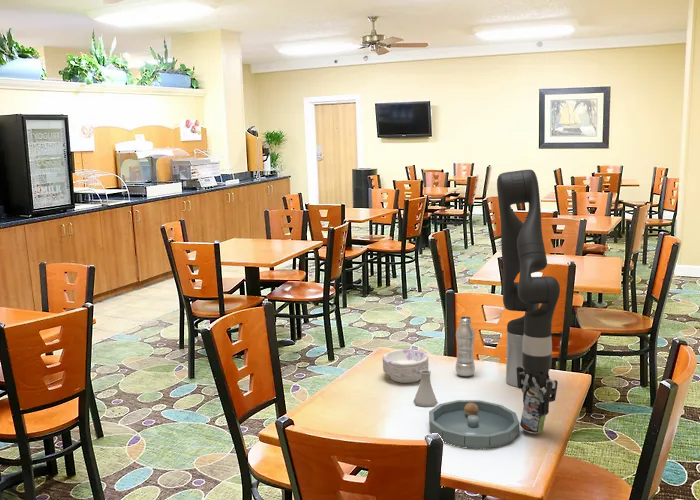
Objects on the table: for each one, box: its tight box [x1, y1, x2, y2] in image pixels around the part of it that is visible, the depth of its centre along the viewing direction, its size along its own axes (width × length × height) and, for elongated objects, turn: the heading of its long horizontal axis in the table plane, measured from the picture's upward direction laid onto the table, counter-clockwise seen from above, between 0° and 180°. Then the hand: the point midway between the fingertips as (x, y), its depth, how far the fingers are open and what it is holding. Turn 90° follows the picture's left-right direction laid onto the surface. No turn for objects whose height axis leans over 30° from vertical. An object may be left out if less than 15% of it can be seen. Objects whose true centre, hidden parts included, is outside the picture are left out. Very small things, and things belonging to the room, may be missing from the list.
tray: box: [428, 399, 520, 450], centre depth 186 cm, size 24×24×4 cm
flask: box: [413, 369, 438, 408], centre depth 204 cm, size 7×7×10 cm
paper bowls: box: [382, 348, 429, 384], centre depth 226 cm, size 15×15×8 cm
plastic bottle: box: [455, 316, 476, 377], centre depth 226 cm, size 6×7×20 cm
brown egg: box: [464, 402, 478, 416], centre depth 192 cm, size 4×4×4 cm
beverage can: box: [519, 387, 547, 434], centre depth 182 cm, size 6×7×12 cm
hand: (535, 409), depth 182 cm, fingers closed on beverage can, 6 cm apart
